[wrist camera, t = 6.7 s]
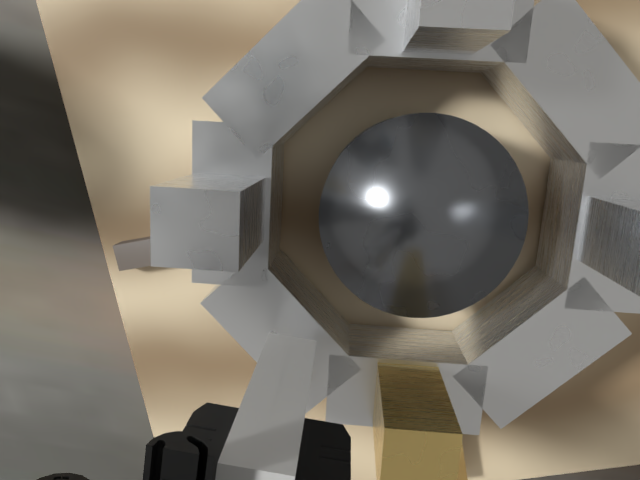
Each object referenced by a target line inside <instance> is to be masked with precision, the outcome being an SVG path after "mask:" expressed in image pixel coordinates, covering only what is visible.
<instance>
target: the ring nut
mask: <svg viewBox="0 0 640 480" xmlns="http://www.w3.org/2000/svg"><path fill="white" fill-rule="evenodd" d="M366 67H379V68H400V69H420V70H440V71H461V72H480V73H481V74H482V75H483V76H484V78H485V79H486V80H487V81H488V82H489V84H490V85H491V86H492V87H493V89H494V90H495V91H496V92H497V93H498V95H499V96H500V97H501V98H502V100H503V101H504V102H505V103H506V104H507V106H508V107H509V108H510V109H511V110H512V112H513V113H514V114H515V115H516V117H517V118H518V119H519V120H520V121H521V123H522V124H523V125H524V126H525V128H526V129H527V130H528V131H529V132H530V134H531V135H532V136H533V137H534V139H535V140H536V141H537V142H538V143H539V145H540V146H541V147H542V148H543V149H544V151H545V152H546V153H547V154H548V156H549V157H550V158H551V160H550V167H549V174H548V182H547V189H546V196H545V203H544V210H543V217H542V224H541V231H540V238H539V246H538V253H537V260H536V266H534V267H533V268H532V269H531V270H529V271H528V272H527V273H525V274H524V275H523V276H522V277H520V278H519V279H518V280H516V281H515V282H514V283H513V284H511V285H510V286H509V287H508V288H506V289H505V290H504V291H502V292H501V293H500V294H499V295H497V296H496V297H495V298H493V299H492V300H491V301H490V302H488V303H487V304H486V305H485V306H483V307H482V308H481V309H479V310H478V311H477V312H476V313H474V314H473V315H472V316H470V317H469V318H468V319H467V320H465V321H464V322H463V323H462V324H460V325H459V326H458V327H456V328H455V329H454V330H453V331H443V330H429V329H415V328H401V327H387V326H373V325H359V324H349V323H348V322H347V321H346V320H345V319H344V318H343V317H342V315H341V314H340V313H339V312H338V311H337V310H336V309H335V308H334V307H333V306H332V305H331V303H330V302H329V301H328V300H327V299H326V298H325V297H324V296H323V295H322V294H321V293H320V292H319V290H318V289H317V288H316V287H315V286H314V285H313V284H312V283H311V282H310V281H309V280H308V278H307V277H306V276H305V275H304V274H303V273H302V272H301V271H300V270H299V269H298V268H297V266H296V265H295V264H294V263H293V262H292V261H291V260H290V259H289V258H288V257H287V256H286V255H285V253H284V252H283V251H282V250H281V249H280V240H281V215H282V189H283V164H284V143H285V142H286V141H287V140H288V139H290V138H291V137H292V136H293V135H294V134H295V133H296V132H297V131H298V130H299V129H300V128H301V127H302V126H304V125H305V124H306V123H307V122H308V121H309V120H310V119H311V118H312V117H313V116H314V115H315V114H316V113H318V112H319V111H320V110H321V109H322V108H323V107H324V106H325V105H326V104H327V103H328V102H329V101H330V100H332V99H333V98H334V97H335V96H336V95H337V94H338V93H339V92H340V91H341V90H342V89H343V88H345V87H346V86H347V85H348V84H349V83H350V82H351V81H352V80H353V79H354V78H355V77H356V76H357V75H359V74H360V73H361V72H362V71H363V70H364V69H365V68H366ZM202 99H203V100H204V101H205V102H206V103H207V104H208V105H209V106H210V108H211V109H212V110H213V111H214V112H215V113H216V114H217V115H218V116H219V118H220V119H221V120H222V121H223V122H214V121H195V120H192V174H191V175H187V176H184V177H180V178H177V179H173V180H170V181H166V182H163V183H159V184H155V185H152V186H150V243H151V266H153V267H167V268H182V269H192V283H203V284H216V286H215V287H214V288H213V289H212V290H211V291H210V293H209V294H208V295H207V296H206V297H205V298H204V299H203V301H202V302H201V303H200V304H201V305H202V306H203V307H204V308H205V309H206V310H207V311H208V312H209V313H210V314H211V315H212V316H213V317H214V318H215V319H216V320H217V321H218V322H219V324H220V325H221V326H222V327H223V328H224V329H225V330H226V331H227V332H228V333H229V334H230V335H231V336H232V337H233V338H234V339H235V340H236V341H237V342H238V343H239V344H240V345H241V347H242V348H243V349H244V350H245V351H246V352H247V353H248V354H249V355H250V356H251V357H252V358H253V359H254V360H255V361H256V362H258V359H259V357H260V354H261V352H262V349H263V347H264V344H265V342H266V339H267V337H268V334H269V333H275V334H281V335H287V336H293V337H298V338H304V339H310V340H316V341H317V343H316V350H315V356H314V362H313V368H312V375H311V381H310V387H309V394H308V400H307V406H306V413H307V412H308V411H310V410H311V409H312V408H313V407H315V406H316V405H317V404H318V403H320V402H321V401H322V400H323V399H325V398H326V397H327V403H326V420H325V421H326V422H331V423H337V424H345V425H358V426H370V427H373V436H374V451H375V465H376V480H457V478H458V470H459V461H460V453H461V445H462V436H463V434H470V435H479V433H480V425H481V418H482V410H484V411H485V412H486V413H487V414H488V415H489V417H490V418H491V419H492V420H493V421H494V422H495V423H496V424H497V425H498V427H499V428H500V429H502V428H503V427H505V426H506V425H507V424H509V423H510V422H511V421H513V420H514V419H516V418H517V417H518V416H520V415H521V414H522V413H524V412H525V411H527V410H528V409H529V408H531V407H532V406H534V405H535V404H536V403H538V402H539V401H540V400H542V399H543V398H545V397H546V396H547V395H549V394H550V393H551V392H553V391H554V390H556V389H557V388H558V387H560V386H561V385H562V384H564V383H565V382H567V381H568V380H569V379H571V378H572V377H573V376H575V375H576V374H578V373H579V372H580V371H582V370H583V369H584V368H586V367H587V366H589V365H590V364H591V363H593V362H594V361H596V360H597V359H598V358H600V357H601V356H602V355H604V354H605V353H607V352H608V351H609V350H611V349H612V348H613V347H615V346H616V345H618V344H619V343H620V342H622V341H623V340H624V339H626V338H627V337H629V336H630V335H631V334H632V333H631V332H630V331H629V329H628V328H627V327H626V326H625V325H624V323H623V322H622V321H621V320H620V319H619V318H618V316H617V315H616V314H615V313H614V312H623V313H638V314H640V82H639V81H638V80H637V78H636V77H635V76H634V74H633V73H632V72H631V71H630V69H629V68H628V67H627V65H626V64H625V63H624V62H623V60H622V59H621V58H620V57H619V55H618V54H617V53H616V51H615V50H614V49H613V48H612V46H611V45H610V44H609V42H608V41H607V40H606V39H605V37H604V36H603V35H602V33H601V32H600V31H599V30H598V28H597V27H596V26H595V24H594V23H593V22H592V21H591V19H590V18H589V17H588V15H587V14H586V13H585V12H584V10H583V9H582V8H581V7H580V5H579V4H578V3H577V1H576V0H535V1H534V0H301V1H300V2H299V3H298V4H297V5H296V6H294V7H293V8H292V9H291V10H290V11H289V12H288V13H287V14H286V15H285V16H284V17H283V18H282V19H281V20H280V21H279V22H278V23H277V24H276V25H275V26H274V27H273V28H272V29H271V30H270V31H269V32H268V33H267V34H266V35H265V36H264V37H263V38H262V39H261V40H260V41H259V42H258V43H257V44H256V45H255V46H254V47H253V48H252V49H251V50H250V51H249V52H248V53H247V54H246V55H245V56H244V57H243V58H242V59H241V60H240V61H239V62H238V63H237V64H236V65H235V66H234V67H233V68H232V69H231V70H230V71H228V72H227V73H226V74H225V75H224V76H223V77H222V78H221V79H220V80H219V81H218V82H217V83H216V84H215V85H214V86H213V87H212V88H211V89H210V90H209V91H208V92H207V93H206V94H205V95H204V96H203V97H202Z"/></svg>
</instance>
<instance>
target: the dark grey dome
mask: <svg viewBox="0 0 640 480" xmlns="http://www.w3.org/2000/svg"><path fill="white" fill-rule="evenodd" d="M528 217H529V209H528V198H527V192H526V187H525V184H524V181H523V178H522V175H521V173H520V171H519V169H518V167H517V165H516V163H515V161H514V160H513V158H512V157H511V155H510V154H509V152H508V151H507V150H506V149H505V148H504V147H503V146H502V144H501V143H500V142H499V141H498V140H497V139H495V138H494V137H493V136H492V135H491V134H489V133H488V132H487V131H485V130H484V129H482V128H480V127H479V126H477V125H475V124H473V123H471V122H469V121H466V120H464V119H462V118H458V117H455V116H451V115H446V114H439V113H414V114H406V115H402V116H399V117H395V118H391V119H387V120H384V121H382V122H379V123H377V124H374V125H373V126H371V127H369V128H367V129H365V130H364V131H363V132H361V133H360V134H359V135H357V136H356V137H355V138H354V139H353V140H352V141H351V142H350V143H349V144H348V145H347V146H346V147H345V148H344V149H343V151H342V152H341V153H340V154H339V156H338V158H337V160H336V161H335V163H334V165H333V167H332V168H331V170H330V172H329V175H328V177H327V179H326V182H325V184H324V187H323V191H322V195H321V199H320V206H319V231H320V238H321V242H322V246H323V249H324V252H325V254H326V257H327V259H328V262H329V264H330V265H331V267H332V269H333V271H334V272H335V274H336V275H337V276H338V278H339V279H340V280H341V282H342V283H343V284H344V285H345V286H346V287H347V288H348V289H349V290H350V291H351V292H352V293H353V294H354V295H356V296H357V297H358V298H360V299H361V300H362V301H364V302H366V303H367V304H369V305H371V306H372V307H374V308H377V309H379V310H381V311H384V312H387V313H390V314H394V315H397V316H403V317H409V318H431V317H439V316H444V315H448V314H452V313H455V312H457V311H460V310H463V309H465V308H467V307H469V306H471V305H473V304H475V303H477V302H478V301H480V300H481V299H483V298H484V297H486V296H487V295H488V294H489V293H491V292H492V291H493V290H494V289H495V288H496V287H497V286H498V285H499V284H500V283H501V282H502V281H503V280H504V279H505V278H506V276H507V275H508V273H509V272H510V270H511V269H512V268H513V266H514V264H515V262H516V260H517V259H518V257H519V255H520V252H521V250H522V247H523V244H524V241H525V237H526V233H527V228H528Z"/></svg>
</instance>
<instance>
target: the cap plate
mask: <svg viewBox="0 0 640 480" xmlns="http://www.w3.org/2000/svg"><path fill="white" fill-rule="evenodd" d="M300 1H301V0H36V2H37V5H38V9H39V13H40V17H41V20H42V24H43V28H44V31H45V35H46V39H47V43H48V46H49V50H50V54H51V57H52V61H53V65H54V69H55V72H56V76H57V80H58V83H59V87H60V91H61V95H62V98H63V102H64V106H65V109H66V113H67V117H68V120H69V124H70V128H71V132H72V135H73V139H74V143H75V146H76V150H77V154H78V158H79V161H80V165H81V169H82V172H83V176H84V180H85V184H86V187H87V191H88V195H89V198H90V202H91V206H92V210H93V213H94V217H95V221H96V224H97V228H98V232H99V235H100V239H101V243H102V247H103V250H104V254H105V258H106V261H107V265H108V269H109V273H110V276H111V280H112V284H113V287H114V291H115V295H116V299H117V302H118V306H119V310H120V313H121V317H122V321H123V325H124V328H125V332H126V336H127V339H128V343H129V347H130V350H131V354H132V358H133V362H134V365H135V369H136V373H137V376H138V380H139V384H140V388H141V391H142V395H143V399H144V402H145V406H146V410H147V414H148V417H149V421H150V425H151V428H152V432H153V436H154V438H155V437H157V436H159V435H161V434H164V433H168V432H174V431H183V429H184V427H185V426H186V424H187V422H188V420H189V418H190V417H191V415H192V413H193V411H195V410H196V409H198V408H199V407H201V406H202V405H204V404H205V403H213V404H219V405H225V406H230V407H236V408H239V407H240V405H241V402H242V400H243V397H244V394H245V392H246V389H247V387H248V384H249V382H250V379H251V377H252V374H253V372H254V369H255V367H256V364H257V362H256V361H255V360H254V359H253V358H252V357H251V356H250V355H249V354H248V353H247V352H246V351H245V350H244V349H243V348H242V347H241V345H240V344H239V343H238V342H237V341H236V340H235V339H234V338H233V337H232V336H231V335H230V334H229V333H228V332H227V331H226V330H225V329H224V328H223V327H222V326H221V325H220V324H219V322H218V321H217V320H216V319H215V318H214V317H213V316H212V315H211V314H210V313H209V312H208V311H207V310H206V309H205V308H204V307H203V306H202V305H201V304H200V303H201V302H202V301H203V299H204V298H205V297H206V296H207V295H208V294H209V293H210V291H211V290H212V289H213V288H214V287H215V286H216V284H203V283H192V269H182V268H167V267H153V266H151V243H150V186H152V185H155V184H159V183H163V182H166V181H170V180H173V179H177V178H180V177H184V176H187V175H191V174H192V120H195V121H214V122H223V121H222V120H221V119H220V118H219V116H218V115H217V114H216V113H215V112H214V111H213V110H212V109H211V108H210V106H209V105H208V104H207V103H206V102H205V101H204V100H203V99H202V97H203V96H204V95H205V94H206V93H207V92H208V91H209V90H210V89H211V88H212V87H213V86H214V85H215V84H216V83H217V82H218V81H219V80H220V79H221V78H222V77H223V76H224V75H225V74H226V73H227V72H228V71H230V70H231V69H232V68H233V67H234V66H235V65H236V64H237V63H238V62H239V61H240V60H241V59H242V58H243V57H244V56H245V55H246V54H247V53H248V52H249V51H250V50H251V49H252V48H253V47H254V46H255V45H256V44H257V43H258V42H259V41H260V40H261V39H262V38H263V37H264V36H265V35H266V34H267V33H268V32H269V31H270V30H271V29H272V28H273V27H274V26H275V25H276V24H277V23H278V22H279V21H280V20H281V19H282V18H283V17H284V16H285V15H286V14H287V13H288V12H289V11H290V10H291V9H292V8H293V7H294V6H296V5H297V4H298V3H299V2H300ZM534 1H535V0H534ZM576 1H577V3H578V4H579V5H580V7H581V8H582V9H583V10H584V12H585V13H586V14H587V15H588V17H589V18H590V19H591V21H592V22H593V23H594V24H595V26H596V27H597V28H598V30H599V31H600V32H601V33H602V35H603V36H604V37H605V39H606V40H607V41H608V42H609V44H610V45H611V46H612V48H613V49H614V50H615V51H616V53H617V54H618V55H619V57H620V58H621V59H622V60H623V62H624V63H625V64H626V65H627V67H628V68H629V69H630V71H631V72H632V73H633V74H634V76H635V77H636V78H637V80H638V81H639V82H640V0H576ZM414 113H439V114H446V115H451V116H455V117H458V118H462V119H464V120H466V121H469V122H471V123H473V124H475V125H477V126H479V127H480V128H482V129H484V130H485V131H487V132H488V133H489V134H491V135H492V136H493V137H494V138H495V139H497V140H498V141H499V142H500V143H501V144H502V146H503V147H504V148H505V149H506V150H507V151H508V152H509V154H510V155H511V157H512V158H513V160H514V161H515V163H516V165H517V167H518V169H519V171H520V173H521V175H522V178H523V181H524V184H525V187H526V192H527V198H528V209H529V217H528V228H527V233H526V237H525V241H524V244H523V247H522V250H521V252H520V255H519V257H518V259H517V260H516V262H515V264H514V266H513V268H512V269H511V270H510V272H509V273H508V275H507V276H506V278H505V279H504V280H503V281H502V282H501V283H500V284H499V285H498V286H497V287H496V288H495V289H494V290H493V291H492V292H491V293H489V294H488V295H487V296H486V297H484V298H483V299H481V300H480V301H478V302H477V303H475V304H473V305H471V306H469V307H467V308H465V309H463V310H460V311H457V312H455V313H452V314H448V315H444V316H439V317H431V318H409V317H403V316H397V315H394V314H390V313H387V312H384V311H381V310H379V309H377V308H374V307H372V306H371V305H369V304H367V303H366V302H364V301H362V300H361V299H360V298H358V297H357V296H356V295H354V294H353V293H352V292H351V291H350V290H349V289H348V288H347V287H346V286H345V285H344V284H343V283H342V282H341V280H340V279H339V278H338V276H337V275H336V274H335V272H334V271H333V269H332V267H331V265H330V264H329V262H328V259H327V257H326V254H325V252H324V249H323V246H322V242H321V238H320V231H319V206H320V199H321V195H322V191H323V187H324V184H325V182H326V179H327V177H328V175H329V172H330V170H331V168H332V167H333V165H334V163H335V161H336V160H337V158H338V156H339V154H340V153H341V152H342V151H343V149H344V148H345V147H346V146H347V145H348V144H349V143H350V142H351V141H352V140H353V139H354V138H355V137H356V136H357V135H359V134H360V133H361V132H363V131H364V130H365V129H367V128H369V127H371V126H373V125H374V124H377V123H379V122H382V121H384V120H387V119H391V118H395V117H399V116H402V115H406V114H414ZM550 160H551V158H550V157H549V156H548V154H547V153H546V152H545V151H544V149H543V148H542V147H541V146H540V145H539V143H538V142H537V141H536V140H535V139H534V137H533V136H532V135H531V134H530V132H529V131H528V130H527V129H526V128H525V126H524V125H523V124H522V123H521V121H520V120H519V119H518V118H517V117H516V115H515V114H514V113H513V112H512V110H511V109H510V108H509V107H508V106H507V104H506V103H505V102H504V101H503V100H502V98H501V97H500V96H499V95H498V93H497V92H496V91H495V90H494V89H493V87H492V86H491V85H490V84H489V82H488V81H487V80H486V79H485V78H484V76H483V75H482V74H481V73H480V72H461V71H440V70H420V69H400V68H379V67H366V68H365V69H364V70H363V71H362V72H361V73H360V74H359V75H357V76H356V77H355V78H354V79H353V80H352V81H351V82H350V83H349V84H348V85H347V86H346V87H345V88H343V89H342V90H341V91H340V92H339V93H338V94H337V95H336V96H335V97H334V98H333V99H332V100H330V101H329V102H328V103H327V104H326V105H325V106H324V107H323V108H322V109H321V110H320V111H319V112H318V113H316V114H315V115H314V116H313V117H312V118H311V119H310V120H309V121H308V122H307V123H306V124H305V125H304V126H302V127H301V128H300V129H299V130H298V131H297V132H296V133H295V134H294V135H293V136H292V137H291V138H290V139H288V140H287V141H286V142H285V143H284V164H283V189H282V215H281V240H280V249H281V250H282V251H283V252H284V253H285V255H286V256H287V257H288V258H289V259H290V260H291V261H292V262H293V263H294V264H295V265H296V266H297V268H298V269H299V270H300V271H301V272H302V273H303V274H304V275H305V276H306V277H307V278H308V280H309V281H310V282H311V283H312V284H313V285H314V286H315V287H316V288H317V289H318V290H319V292H320V293H321V294H322V295H323V296H324V297H325V298H326V299H327V300H328V301H329V302H330V303H331V305H332V306H333V307H334V308H335V309H336V310H337V311H338V312H339V313H340V314H341V315H342V317H343V318H344V319H345V320H346V321H347V322H348V323H349V324H359V325H373V326H387V327H401V328H415V329H429V330H443V331H453V330H454V329H455V328H456V327H458V326H459V325H460V324H462V323H463V322H464V321H465V320H467V319H468V318H469V317H470V316H472V315H473V314H474V313H476V312H477V311H478V310H479V309H481V308H482V307H483V306H485V305H486V304H487V303H488V302H490V301H491V300H492V299H493V298H495V297H496V296H497V295H499V294H500V293H501V292H502V291H504V290H505V289H506V288H508V287H509V286H510V285H511V284H513V283H514V282H515V281H516V280H518V279H519V278H520V277H522V276H523V275H524V274H525V273H527V272H528V271H529V270H531V269H532V268H533V267H534V266H536V260H537V253H538V246H539V238H540V231H541V224H542V217H543V210H544V203H545V196H546V189H547V182H548V174H549V167H550ZM614 313H615V314H616V315H617V316H618V318H619V319H620V320H621V321H622V322H623V323H624V325H625V326H626V327H627V328H628V329H629V331H630V332H631V333H632V334H631V335H630V336H629V337H627V338H626V339H624V340H623V341H622V342H620V343H619V344H618V345H616V346H615V347H613V348H612V349H611V350H609V351H608V352H607V353H605V354H604V355H602V356H601V357H600V358H598V359H597V360H596V361H594V362H593V363H591V364H590V365H589V366H587V367H586V368H584V369H583V370H582V371H580V372H579V373H578V374H576V375H575V376H573V377H572V378H571V379H569V380H568V381H567V382H565V383H564V384H562V385H561V386H560V387H558V388H557V389H556V390H554V391H553V392H551V393H550V394H549V395H547V396H546V397H545V398H543V399H542V400H540V401H539V402H538V403H536V404H535V405H534V406H532V407H531V408H529V409H528V410H527V411H525V412H524V413H522V414H521V415H520V416H518V417H517V418H516V419H514V420H513V421H511V422H510V423H509V424H507V425H506V426H505V427H503V428H502V429H500V428H499V427H498V425H497V424H496V423H495V422H494V421H493V420H492V419H491V418H490V417H489V415H488V414H487V413H486V412H485V411H484V410H482V418H481V425H480V433H479V435H470V434H463V436H462V445H461V453H460V461H459V470H458V478H457V480H519V479H527V478H535V477H543V476H551V475H559V474H567V473H575V472H583V471H591V470H599V469H607V468H615V467H623V466H631V465H639V464H640V314H638V313H623V312H614ZM326 403H327V397H326V398H325V399H323V400H322V401H321V402H320V403H318V404H317V405H316V406H315V407H313V408H312V409H311V410H310V411H308V412H307V413H305V418H308V419H314V420H320V421H325V420H326ZM343 425H344V427H345V429H346V430H347V432H348V434H349V435H350V437H351V480H376V465H375V451H374V436H373V427H370V426H358V425H345V424H343Z"/></svg>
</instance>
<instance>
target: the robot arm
mask: <svg viewBox="0 0 640 480" xmlns="http://www.w3.org/2000/svg"><path fill="white" fill-rule="evenodd" d="M316 343H317V341H316V340H310V339H304V338H298V337H293V336H287V335H281V334H275V333H269V334H268V337H267V339H266V342H265V344H264V347H263V349H262V352H261V354H260V357H259V359H258V362H257V364H256V367H255V369H254V372H253V374H252V377H251V379H250V382H249V384H248V387H247V389H246V392H245V394H244V397H243V400H242V402H241V405H240V407H239V408H236V407H230V406H225V405H219V404H213V403H205V404H204V405H202V406H201V407H199V408H198V409H196V410H195V411H193V413H192V415H191V417H190V418H189V420H188V422H187V424H186V426H185V427H184V429H183V431H174V432H168V433H164V434H161V435H159V436H157V437H155V438H153V439H152V440H151V441H150V442H149V443H148V444H147V445H146V453H145V463H144V473H143V480H351V437H350V435H349V434H348V432H347V430H346V429H345V427H344V425H343V424H337V423H331V422H326V421H320V420H314V419H308V418H305V413H306V406H307V400H308V394H309V387H310V381H311V375H312V368H313V362H314V356H315V350H316ZM37 480H89V479H87V478H86V477H84V476H82V475H77V474H73V473H59V474H52V475H49V476H45V477H41V478H39V479H37Z"/></svg>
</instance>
